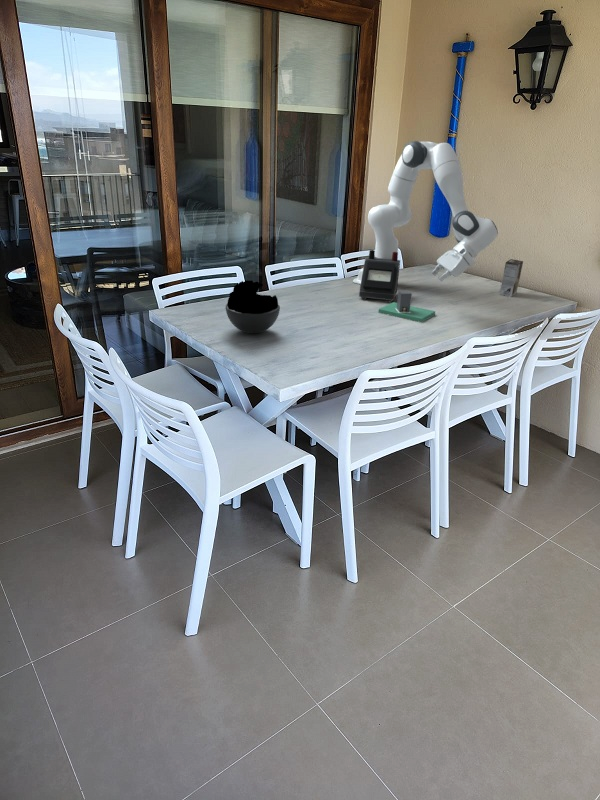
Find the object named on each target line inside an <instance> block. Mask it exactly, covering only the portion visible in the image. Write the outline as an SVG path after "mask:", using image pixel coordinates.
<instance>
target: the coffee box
mask: <svg viewBox="0 0 600 800" xmlns="http://www.w3.org/2000/svg"><path fill="white" fill-rule="evenodd" d="M523 263H524V261H523V260H518V259H513V258H511V259H508V260H506V262H505V265H504V270H503V274H502V275H503V276H502V279H501V285H500V288H499V289H500V290H499V294H500V295H499V296H504V295H505V297H509V296H510V298H512V297H514V296H515V295H516V294H517V292H518V287H519V283H520V278H521V275H522V269H523ZM513 295H514V296H513Z"/></svg>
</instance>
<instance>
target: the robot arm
mask: <svg viewBox="0 0 600 800" xmlns="http://www.w3.org/2000/svg"><path fill="white" fill-rule="evenodd" d="M421 170H423V171H424V170H432V172H433V173H432V174H433V177H434V180H435V182H436V183H437V185H438V188H439V189H440V191H441V193H442V194H443V196H444V197H445V199H446V201H447V203H448V205H449V207H450V210H451V214H452V216H453V219H452V221H451V223H452V230H453V233H454V237H455V241H456V242H457V244H456V245H455V246H454V247H453V248H452V249H449V250H447V251H446V252H444V253H443V254H442V255H441V256H439V257H438V258H437V260H436V263H437V265H435V267H434V269H433V270H432V271H431V274H432V276H436V275H438V273H439V271H441V270H442V269H443V270H444V271H445V272H444V273H443V274H440V275H439V276H438V280H439V281H440V282H443V281H444V280H446V279H447V278H449V277H451V276H452V277H454V278H455V277H458V276H460V275H461V274H463V273H464V272H465V271H466V270H468V269H469V267H472V266H473V265H475V264H476V262H475V258H476V257H477V256H478V255H479V253H480V252H482V251H484V250H485V249H486V248H487V247H489V246H490V245H491V244H492V243H493V242H494V241H495V239H496V238H497V237H498V234H499V232H498V227H497V225H496V224H495V222H494V221H493V220H492V219H490V218H485V217H484V218H483V217H481V216H478V215H476V214H474V213H473V212H471V211H468V207H467V204H466V200H465V195H464V194H465V193H464V180H463V171H462V167H461V164H460V160H459V158H458V156H457V153H456V151H455V150H454V148H453V147H452V145H451V144H450V143H448V142H440V143H436V142H434V141H433V142H432V141H419V140H413V141H409V142H407V143H406V144H405V146H404V147H403V149H402V153H401V154H400V156H399V158H398V160H397V163H396V165H395V167H394V170H393V173H392V174H391V177H390V180H389V184H388V187H387V192H388V193H389V194H390V200H389V202H388V203H387V204H386V203H384V204H379V205H376V206H373V207H371V209H370V210H369V211H368V215H367V222H368V224H369V225H370V227H371V228H372V230H373V232H374V236H375V246H374V247H375V249H374V250H375V255H374V258H379V259H391V260H392V254H393V252H398V251H399V240H398V238H397V237H396V236H395V232H394V228H401V227H402V226H405V225H407V224H408V223H410V222H411V220H412V215H413V214H412V209H411V207H410V199H411V194H412V193H413V190H414V187H415V184H416V181H417V178H418V176H419V173H420V171H421ZM398 253H399V252H398ZM398 258H399V257H398ZM398 258H397V260H399V259H398ZM363 268H364V266H363V267H362V268H361V269H360V270H359V271H358V275H357V277H355V278H354V279H353V281H352V282H353V283H354V284H358V285H361V279H362V273H363Z"/></svg>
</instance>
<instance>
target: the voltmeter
mask: <svg viewBox="0 0 600 800" xmlns="http://www.w3.org/2000/svg"><path fill="white" fill-rule="evenodd" d="M368 252H369V254H368V257H367V256H366V257H365V258H364V263H363V267H364V268H363V267H362V268H363V273H362V279H361V284H359V285H360V286H359V293H358V297H359V298H361V300H364V299H365V300H367V298H369V299H370V298H371V299H378V300H379V299H380V300H386V302H387V301H388V303H393V301H395V298H396V295H397V291H398V284H399V274H400V266H401V259H400V260H399V259H398V260H397V258H399V252H393V254H392V260H391V259H379V258H374V255H375V249H369V251H368Z"/></svg>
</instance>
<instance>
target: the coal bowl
mask: <svg viewBox="0 0 600 800" xmlns="http://www.w3.org/2000/svg"><path fill="white" fill-rule="evenodd" d="M263 286H264V284H263V283H260V282H259V281H253V279H252V280H248V279H247V280H244V281H243V280H241V281H239V282H238V283H237V284H235V285H233V289H232V291H231V292H230V293H229V296H228V299H227V303H226V305H225V311H226V316H227V318H228V319H229V321H230V323H231V324H232V325H233V326H234V327H235V328H236V329H238V330H239V331H242V332H244V333H248V334H258V333H259V334H260V333H262V332H265V331H267V330H269V329H270V328H271V327H272V326H273V325H274V324H275V323H276V321H277V319H278V318H279V315H280V312H281V311H280V308H281V307H280V305H279V301H278V297H277V295H275V294H274V295H273V296H272V295H269V294H263V295H262V294H258V291H259V289H260V288H261V287H263Z"/></svg>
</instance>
